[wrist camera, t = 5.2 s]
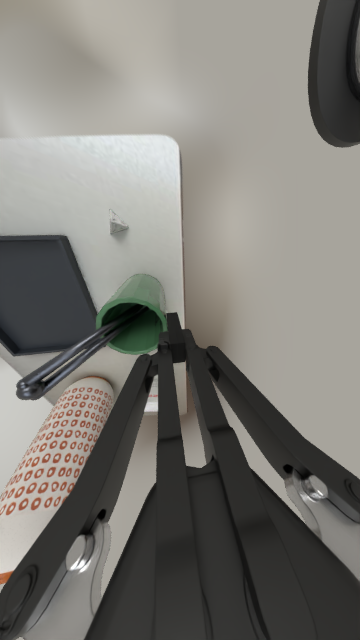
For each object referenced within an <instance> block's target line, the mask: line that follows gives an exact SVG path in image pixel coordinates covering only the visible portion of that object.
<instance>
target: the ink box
mask: <svg viewBox="0 0 360 640" xmlns="http://www.w3.org/2000/svg"><path fill="white" fill-rule="evenodd" d="M147 411H158V375H156V376H154V380H153V383H152V387H151V390H150V393H149V397H148V400H147V403H146V407H145V410H144V412H147Z"/></svg>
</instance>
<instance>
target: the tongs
mask: <svg viewBox="0 0 360 640" xmlns="http://www.w3.org/2000/svg"><path fill="white" fill-rule="evenodd" d="M142 306H144V305H142V304H138V303H137V304H136V305H134V306H133V307H131V308H130V309H128V310H126V311H125V312H123V313H122V314H120V315H119V316H117V317H116V318H114V319H113V320H111V321H110V322H108V323H107V324H105V325H104V326H102V327H101V328H99V329H97V330H96V331H94V332H93V333H91V334H90V335H88V336H87V337H85V338H84V339H82V340H81V341H79V342H78V343H76V344H75V345H73V346H71V347H70V348H68V349H67V350H65V351H64V352H62V353H61V354H59V355H58V356H56V357H55V358H53V359H52V360H50V361H49V362H47V363H46V364H44V365H42V366H41V367H39V368H38V369H36V370H35V371H33V372H32V373H30V374H29V375H27V376H26V377H24V378H23V379H21V380H20V381H19V382H18V383H17V386H16V387H17V391H16V395H17V397H18V398H19V399H22V400H37V399H39V398H41V397H42V396H43V395H45V394H46V393H47V392H48V391H49V390H51V389H52V388H53V387H54V386H56V385H57V384H58V383H59V382H60V381H62V380H63V379H64V378H65V377H67V376H68V375H69V374H70V373H71V372H73V371H74V370H75V369H76V368H78V367H79V366H80V365H81V364H82V363H84V362H85V361H86V360H87V359H89V358H90V357H91V356H92V355H94V354H95V353H96V352H97V351H98V350H100V349H101V348H102V347H103V346H105V345H106V344H107V343H108V342H109V341H111V340H112V339H113V338H114V337H116V336H117V335H118V334H119V333H120V332H122V331H123V330H124V329H125V328H127V327H128V326H129V325H130V324H131V323H133V322H134V321H135V320H136V319H138V318H139V317H140V316H141V315H142V314H144V313H145V312H146V311H147V310H149V309H150V308H149V307H147V306H144V307H143V308H142V309H140V308H141V307H142ZM138 309H140V310H139V311H138V312H136V311H137V310H138ZM134 312H136V313H135V314H134V315H132V316H131V317H130V318H128V319H127V320H126V321H124V322H123V323H122V324H120V325H119V326H118V327H116V328H115V329H114V330H112V331H111V332H109V333H108V334H107V335H105V336H104V337H103V338H101V339H100V340H99V341H97V342H96V343H95V344H93V345H92V346H91V347H89V348H88V349H87V350H85V351H84V352H83V353H81V354H80V355H79V356H77V357H76V358H75V359H73V360H72V361H71V362H69V363H68V364H66V365H65V366H64V367H62V368H61V369H60V370H58V371H57V372H56V373H54V374H53V375H52V376H50V377H49V378H48V379H46V380H45V381H43V380H42V379H43V378H45V377H46V376H48V375H49V374H50V373H52V372H53V371H54V370H56V369H57V368H59V367H60V366H61V365H63V364H64V363H65V362H67V361H68V360H70V359H71V358H72V357H74V356H75V355H76V354H78V353H79V352H81V351H82V350H83V349H85V348H86V347H87V346H89V345H90V344H92V343H93V342H94V341H96V340H97V339H98V338H100V337H101V336H103V335H104V334H105V333H107V332H108V331H109V330H111V329H112V328H114V327H115V326H116V325H118V324H119V323H120V322H122V321H123V320H125V319H126V318H127V317H129V316H130V315H131V314H133V313H134Z"/></svg>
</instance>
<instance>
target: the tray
mask: <svg viewBox="0 0 360 640" xmlns="http://www.w3.org/2000/svg"><path fill="white" fill-rule="evenodd" d="M96 317H97V312H96V310H95V307H94V305H93V302H92V300H91V297H90V295H89V292H88V289H87V287H86V284H85V282H84V279H83V277H82V274H81V272H80V269H79V267H78V264H77V262H76V259H75V256H74V254H73V251H72V249H71V246H70V244H69V241H68V239H67V236H61V235H37V236H0V343H1V344H2V345H3V346H4V347H5V348H6V349H7V350H8V351H9V352H10V353H11V354H12V355H13V356H22V355H32V354H41V353H51V352H60V351H65V350H67V349H68V348H70V347H71V346H73V345H75V344H76V343H78V342H79V341H81V340H82V339H84V338H85V337H87V336H88V335H90V334H91V333H93V332H94V331H96ZM100 339H101V338H98V339H97V340H96V341H94V342H93V343H92V344H90V345H89V346H87V347H86V348H85V349H88V348H89V347H91V346H92V345H93V344H95V343H96V342H97V341H99V340H100ZM105 346H106V345H105ZM105 346H103V347H105Z"/></svg>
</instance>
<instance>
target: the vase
mask: <svg viewBox="0 0 360 640" xmlns="http://www.w3.org/2000/svg"><path fill="white" fill-rule="evenodd" d="M112 403H113V390H112V387H111V385H110V384H109V382H108V381H107V380H106V379H104V378H101V377H96V376H90V377H86V378H83V379H81V380H79V381H77V382H75V383H73V384H72V385H70V386H69V387H68V388H67V389H66V390H65V391H64V392H63V393H62V395H61V396H60V398H59V399H58V401H57V402H56V404H55V406H54V407H53V409H52V411H51V412H50V414H49V415H48V417H47V419H46V420H45V422H44V424H43V426H42V427H41V429H40V430H39V432H38V434H37V435H36V437H35V438H34V440H33V442H32V443H31V445H30V447H29V449H28V450H27V452H26V453H25V455H24V457H23V459H22V460H21V462H20V464H19V465H18V467H17V469H16V470H15V472H14V474H13V476H12V477H11V479H10V481H9V482H8V484H7V486H6V488H5V489H4V491H3V493H2V495H1V496H0V584H3V583H6V582H7V581H8V579H9V577H10V576H11V574H12V573H13V571H14V570H15V568H16V567H17V566H18V564H19V563H20V561H21V560H22V559H23V557H24V556H25V554H26V553H27V552H28V550H29V549H30V548H31V546H32V545H33V543H34V542H35V541H36V539H37V538H38V536H39V535H40V534H41V532H42V531H43V530H44V528H45V527H46V525H47V524H48V523H49V521H50V520H51V519H52V517H53V516H54V514H55V513H56V512H57V510H58V509H59V507H60V506H61V505H62V503H63V502H64V501H65V499H66V498H67V496H68V495H69V494H70V492H71V491H72V489H73V487H74V485H75V483H76V481H77V479H78V477H79V475H80V473H81V471H82V469H83V467H84V465H85V463H86V461H87V459H88V457H89V455H90V453H91V451H92V449H93V447H94V445H95V443H96V441H97V439H98V437H99V435H100V433H101V431H102V429H103V427H104V425H105V423H106V421H107V419H108V416H109V413H110V409H111V406H112Z"/></svg>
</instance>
